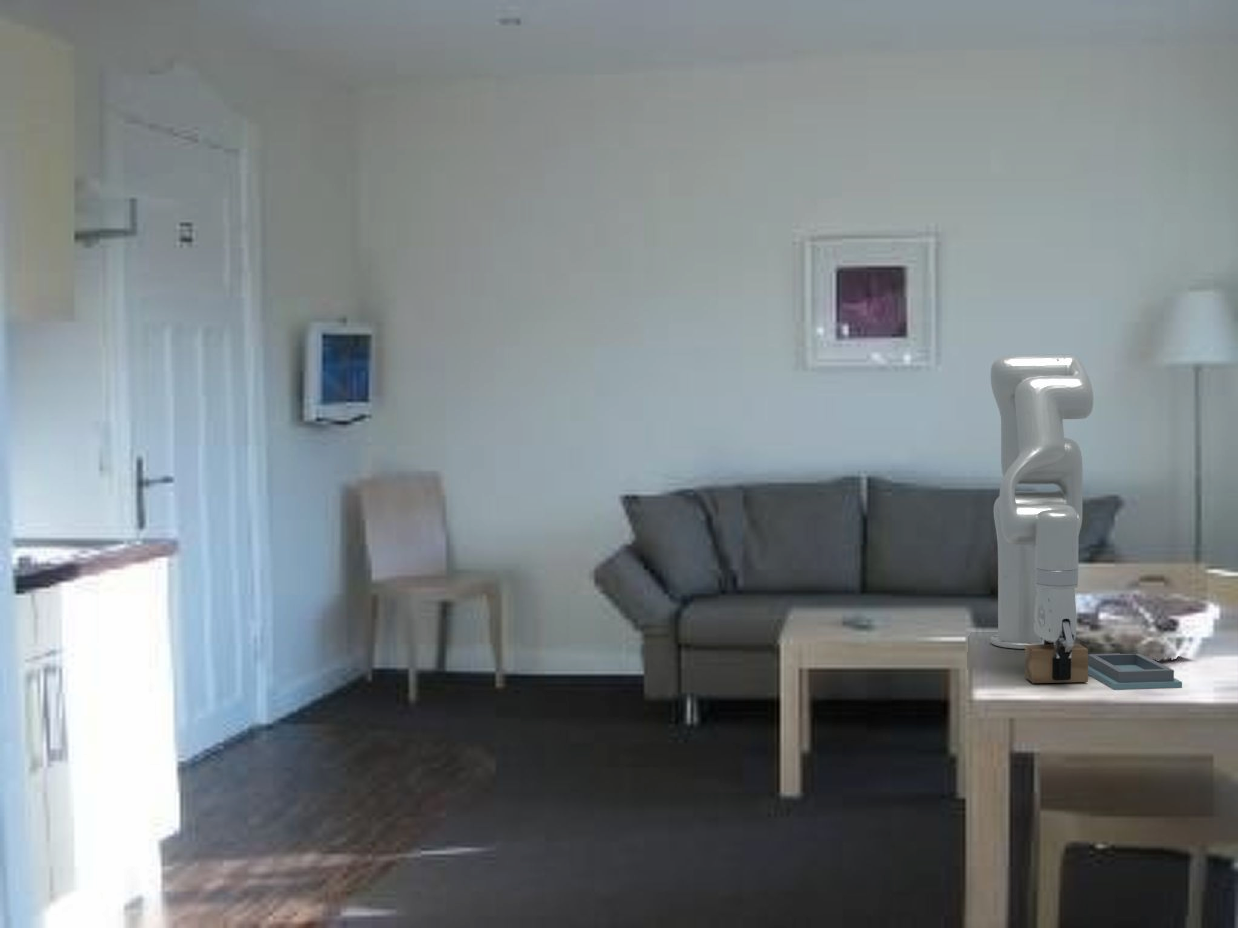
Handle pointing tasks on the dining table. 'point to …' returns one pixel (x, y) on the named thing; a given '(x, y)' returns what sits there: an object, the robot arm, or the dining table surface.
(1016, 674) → the dining table surface
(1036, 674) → the walnut block
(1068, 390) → the robot arm
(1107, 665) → the cradle
